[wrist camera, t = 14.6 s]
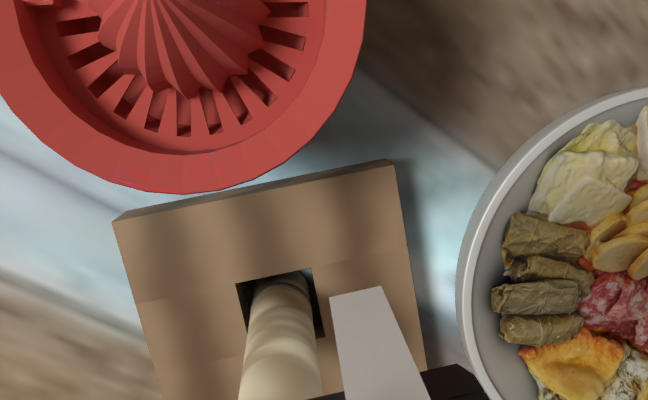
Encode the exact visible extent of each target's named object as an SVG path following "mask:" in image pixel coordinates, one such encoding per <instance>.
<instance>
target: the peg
mask: <svg viewBox="0 0 648 400" xmlns="http://www.w3.org/2000/svg"><path fill="white" fill-rule="evenodd" d="M320 396H323V390H322V383H321V376H320V368H319V361H318V354H317V347H316V340H315V332H314V325H313V318H312V306H311V302H310V296H309V289H308V284H307V282H306V280H305V278H304V277H303V276H302V275H301V274H300V273H299V272H298V271H292V272H287V273H283V274H278V275H273V276H269V277H264V278H259V279H258V280H257V281H256V284H255V287H254V293H253V300H252V304H251V309H250V321H249V327H248V334H247V341H246V348H245V355H244V362H243V369H242V376H241V383H240V389H239V396H238V400H307V399H311V398H316V397H320Z"/></svg>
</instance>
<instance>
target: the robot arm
mask: <svg viewBox="0 0 648 400" xmlns="http://www.w3.org/2000/svg"><path fill="white" fill-rule="evenodd" d="M329 302H330V308H331V314H332V320H333V326H334V332H335V338H336V344H337V350H338V356H339V362H340V368H341V374H342V380H343V386H344V391H342V392H338V393H333V394H329V395H325V396H320V397H316V398H311V399H307V400H489V398H488V396H487V395H486V393H484V390H483V388H482V387H481V385H480V384H479V382H478V380H477V379H476V377H475V376H474V374H472V373H470V372H469V371H467V370H466V369H464V368H463V367H461V366H460V365H458V364H453V365H449V366H444V367H440V368H436V369H431V370H427V371H422V372H419V371H418V369H417V367H416V364H415V362H414V360H413V358H412V355H411V353H410V351H409V348H408V346H407V344H406V342H405V339H404V337H403V335H402V332H401V330H400V328H399V326H398V323H397V321H396V319H395V316H394V314H393V312H392V310H391V307H390V305H389V303H388V300H387V298H386V296H385V294H384V291H383V289H382V287H381V286H377V287H373V288H368V289H364V290H359V291H355V292H351V293H346V294H342V295H337V296H333V297H329Z"/></svg>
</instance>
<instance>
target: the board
mask: <svg viewBox="0 0 648 400" xmlns="http://www.w3.org/2000/svg"><path fill="white" fill-rule="evenodd" d="M112 226H113V229H114V233H115V236H116V239H117V243H118V246H119V250H120V253H121V256H122V260H123V263H124V267H125V270H126V273H127V277H128V280H129V284H130V287H131V290H132V294H133V297H134V301H135V304H136V307H137V311H138V314H139V318H140V321H141V325H142V328H143V331H144V335H145V338H146V342H147V345H148V348H149V352H150V355H151V359H152V362H153V365H154V369H155V372H156V376H157V379H158V382H159V386H160V389H161V393H162V396H163V399H164V400H238V396H239V389H240V383H241V376H242V369H243V362H244V355H245V348H246V341H247V334H248V327H249V321H250V311H249V307H248V303H247V298H246V294H245V290H244V286H243V282H245V281H250V280H254V279H259V278H264V277H269V276H273V275H278V274H283V273H287V272H292V271H297V270H302V269H306V268H311V270H312V274H313V279H314V284H315V289H316V294H317V298H318V303H319V308H320V313H321V317H320V318H315V319H313V325H314V332H315V340H316V347H317V354H318V361H319V368H320V376H321V383H322V390H323V396H325V395H329V394H333V393H338V392H342V391H344V386H343V380H342V374H341V368H340V362H339V356H338V350H337V344H336V338H335V332H334V326H333V320H332V314H331V308H330V302H329V297H333V296H337V295H342V294H346V293H351V292H355V291H359V290H364V289H368V288H373V287H377V286H381V287H382V289H383V291H384V294H385V296H386V298H387V300H388V303H389V305H390V307H391V310H392V312H393V314H394V316H395V319H396V321H397V323H398V326H399V328H400V330H401V332H402V335H403V337H404V339H405V342H406V344H407V346H408V348H409V351H410V353H411V355H412V358H413V360H414V362H415V364H416V367H417V369H418V371H419V372H422V371H427V364H426V358H425V351H424V345H423V339H422V333H421V327H420V321H419V315H418V308H417V302H416V296H415V290H414V284H413V278H412V272H411V265H410V259H409V253H408V247H407V241H406V235H405V229H404V222H403V216H402V210H401V204H400V198H399V192H398V186H397V179H396V173H395V167H394V164H392V163H391V162H389V161H387V160H386V159H380V160H375V161H370V162H365V163H360V164H355V165H350V166H345V167H341V168H336V169H331V170H326V171H321V172H316V173H311V174H306V175H301V176H296V177H291V178H286V179H282V180H277V181H272V182H267V183H262V184H257V185H252V186H247V187H242V188H237V189H232V190H227V191H222V192H218V193H213V194H208V195H203V196H198V197H193V198H188V199H183V200H178V201H173V202H168V203H163V204H158V205H154V206H149V207H144V208H139V209H134V210H129V211H126V212H125V213H123V214H122V215H121V216H119V217H118V218H117V219H115V220H114V221H112Z"/></svg>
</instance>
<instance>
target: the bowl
mask: <svg viewBox="0 0 648 400" xmlns="http://www.w3.org/2000/svg"><path fill="white" fill-rule="evenodd" d="M455 307H456V316H457V322H458V328H459V333H460V336H461V340H462V344H463V347H464V350H465V353H466V355H467V358H468V360H469V362H470V365H471V367H472V369H473V371H474V373H475V375H476V377H477V378H478V380H479V382H480V383H481V385H482V386H483V388H484V390H485V391H486V393H487V394H488V395H489V397H490V398H491V399H492V400H648V86H643V87H638V88H632V89H628V90H624V91H620V92H616V93H612V94H609V95H606V96H603V97H600V98H598V99H595V100H592V101H590V102H588V103H585V104H583V105H581V106H579V107H577V108H575V109H573V110H571V111H569V112H567V113H565V114H564V115H562V116H560V117H559V118H557V119H555V120H554V121H552V122H551V123H549V124H548V125H547V126H545V127H544V128H542V129H541V130H540V131H538V132H537V133H536V134H534V135H533V136H532V137H531V138H530V139H528V140H527V141H526V142H525V143H524V144H523V145H522V146H521V147H520V148H519V149H518V150H517V151H516V152H515V153H514V154H513V155H512V156H511V157H510V158H509V159H508V160H507V161H506V162H505V164H504V165H503V166H502V167H501V168H500V170H499V171H498V172H497V174H496V175H495V176H494V178H493V179H492V180H491V182H490V183H489V185H488V186H487V188H486V189H485V191H484V193H483V195H482V196H481V198H480V200H479V202H478V204H477V205H476V207H475V209H474V211H473V214H472V216H471V218H470V221H469V223H468V226H467V228H466V231H465V234H464V237H463V241H462V244H461V248H460V252H459V257H458V263H457V269H456V279H455Z"/></svg>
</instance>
